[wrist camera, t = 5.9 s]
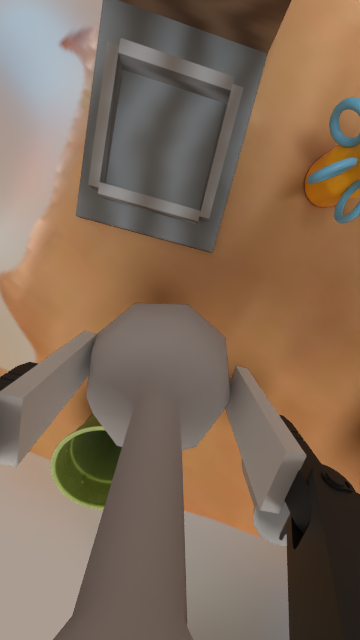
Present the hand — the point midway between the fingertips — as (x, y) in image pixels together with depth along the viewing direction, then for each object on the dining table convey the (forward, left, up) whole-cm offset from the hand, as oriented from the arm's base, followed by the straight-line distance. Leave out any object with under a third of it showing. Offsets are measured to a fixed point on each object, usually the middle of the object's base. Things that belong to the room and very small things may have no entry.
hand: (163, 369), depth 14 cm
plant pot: (+3, +18, -19) cm, 26 cm away
